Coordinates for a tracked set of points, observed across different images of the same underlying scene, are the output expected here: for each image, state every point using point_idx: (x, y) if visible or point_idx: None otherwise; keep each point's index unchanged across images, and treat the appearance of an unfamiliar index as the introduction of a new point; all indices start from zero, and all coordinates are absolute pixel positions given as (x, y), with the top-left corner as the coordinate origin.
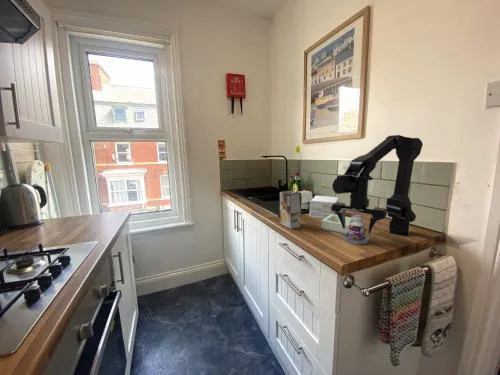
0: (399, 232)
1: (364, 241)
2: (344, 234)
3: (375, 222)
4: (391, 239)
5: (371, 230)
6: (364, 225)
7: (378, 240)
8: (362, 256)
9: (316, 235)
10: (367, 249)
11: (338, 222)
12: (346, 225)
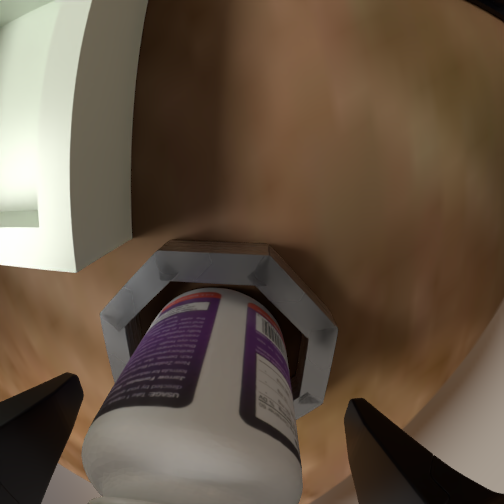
0: (499, 3)
1: (303, 409)
2: (114, 368)
3: (462, 486)
4: (483, 142)
5: (382, 423)
6: (301, 473)
7: (406, 233)
8: (304, 498)
9: (8, 373)
10: (325, 444)
11: (1, 22)
12: (38, 265)
